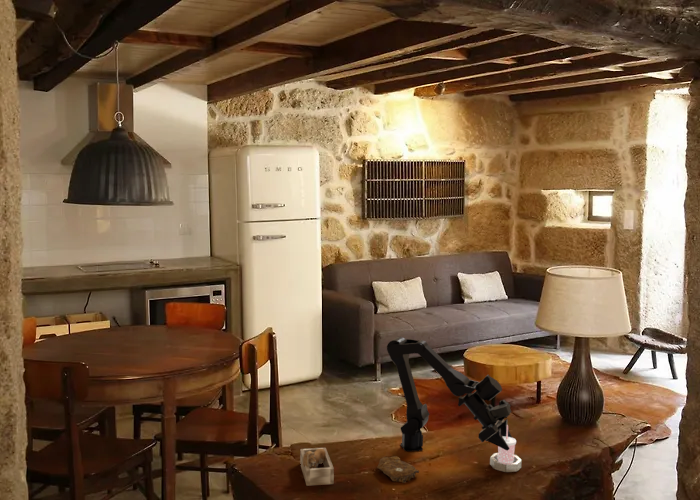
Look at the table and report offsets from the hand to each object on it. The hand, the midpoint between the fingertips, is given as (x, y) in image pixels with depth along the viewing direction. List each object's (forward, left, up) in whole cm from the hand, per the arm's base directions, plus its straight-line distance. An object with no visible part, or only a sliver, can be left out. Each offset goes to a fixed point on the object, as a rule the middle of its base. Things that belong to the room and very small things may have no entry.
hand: (510, 446), depth 234 cm
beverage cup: (-1, +1, -7) cm, 7 cm away
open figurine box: (-64, +4, -7) cm, 65 cm away
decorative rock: (-39, +1, -7) cm, 40 cm away
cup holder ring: (-1, +1, -7) cm, 7 cm away
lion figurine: (-64, +4, -7) cm, 65 cm away
